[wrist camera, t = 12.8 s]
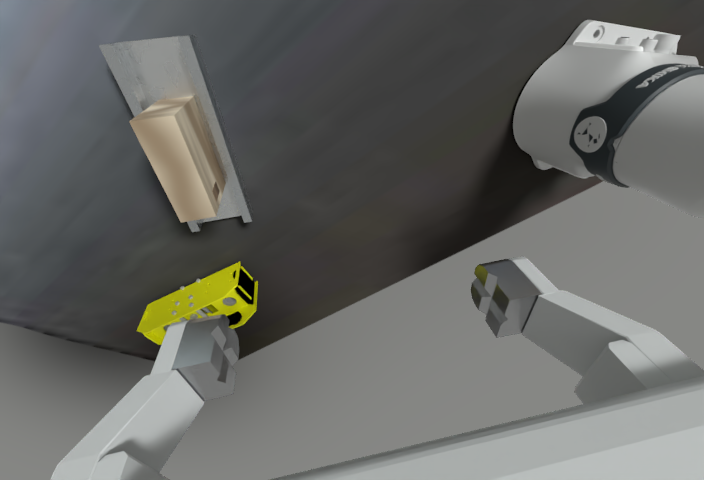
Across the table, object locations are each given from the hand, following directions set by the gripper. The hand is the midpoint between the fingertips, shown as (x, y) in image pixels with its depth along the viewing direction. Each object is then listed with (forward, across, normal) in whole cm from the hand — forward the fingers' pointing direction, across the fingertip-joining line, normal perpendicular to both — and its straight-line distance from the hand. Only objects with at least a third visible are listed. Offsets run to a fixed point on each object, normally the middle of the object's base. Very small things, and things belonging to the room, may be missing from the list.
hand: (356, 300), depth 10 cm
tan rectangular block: (+30, +13, +3) cm, 33 cm away
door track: (+31, +13, +3) cm, 34 cm away
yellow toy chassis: (+31, +21, +26) cm, 45 cm away
